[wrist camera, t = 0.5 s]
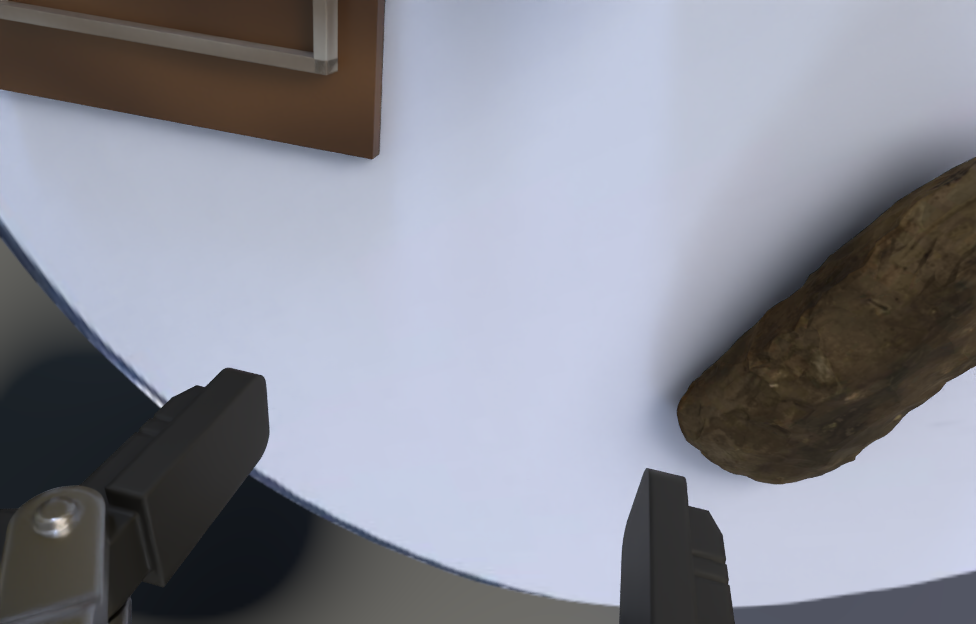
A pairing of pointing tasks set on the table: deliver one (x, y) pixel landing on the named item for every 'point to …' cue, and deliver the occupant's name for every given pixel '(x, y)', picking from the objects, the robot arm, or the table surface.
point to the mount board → (209, 64)
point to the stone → (848, 344)
